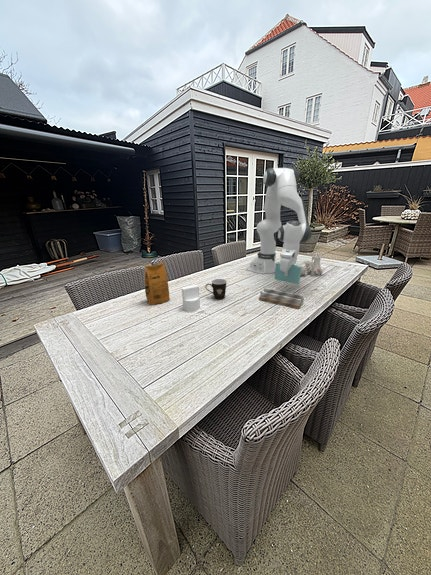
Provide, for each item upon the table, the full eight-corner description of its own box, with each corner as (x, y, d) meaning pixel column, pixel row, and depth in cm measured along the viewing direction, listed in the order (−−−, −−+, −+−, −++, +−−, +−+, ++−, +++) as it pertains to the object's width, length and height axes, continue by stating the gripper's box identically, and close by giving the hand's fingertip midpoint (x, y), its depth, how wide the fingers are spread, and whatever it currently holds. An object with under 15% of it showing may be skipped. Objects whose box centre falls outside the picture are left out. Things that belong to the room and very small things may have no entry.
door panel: (274, 279, 136) (276, 263, 132) (275, 277, 138) (277, 262, 134) (297, 284, 129) (300, 267, 125) (299, 282, 131) (302, 266, 127)
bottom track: (258, 300, 129) (259, 292, 127) (265, 293, 136) (265, 286, 135) (298, 309, 118) (299, 301, 116) (303, 301, 125) (304, 294, 124)
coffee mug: (228, 295, 135) (228, 280, 131) (223, 301, 128) (223, 285, 124) (211, 292, 140) (210, 277, 136) (205, 298, 133) (204, 282, 129)
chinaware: (304, 268, 184) (304, 248, 178) (326, 270, 174) (328, 248, 168) (292, 278, 163) (292, 256, 158) (317, 281, 153) (318, 257, 148)
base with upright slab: (186, 313, 117) (185, 291, 112) (181, 306, 124) (179, 285, 120) (202, 308, 121) (201, 288, 116) (196, 302, 128) (194, 282, 123)
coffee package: (145, 300, 132) (139, 263, 124) (165, 295, 138) (161, 260, 130) (150, 306, 124) (144, 268, 116) (171, 301, 130) (167, 264, 122)
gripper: (290, 246, 136) (287, 268, 142) (279, 254, 120) (276, 278, 126) (301, 248, 133) (297, 270, 138) (290, 256, 117) (287, 281, 123)
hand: (287, 274), depth 132 cm, fingers closed on door panel, 3 cm apart
